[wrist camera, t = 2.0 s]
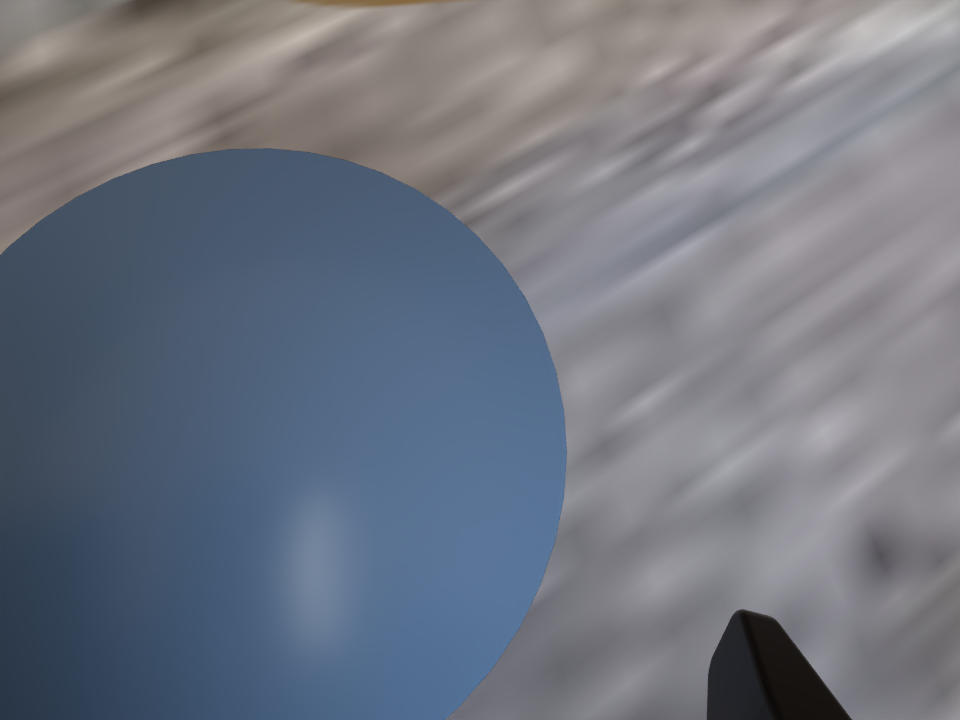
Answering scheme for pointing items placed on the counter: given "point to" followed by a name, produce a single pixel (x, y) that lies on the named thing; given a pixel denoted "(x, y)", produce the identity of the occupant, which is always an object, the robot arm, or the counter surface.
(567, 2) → the counter surface
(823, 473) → the counter surface
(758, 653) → the robot arm
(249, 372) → the cylinder
